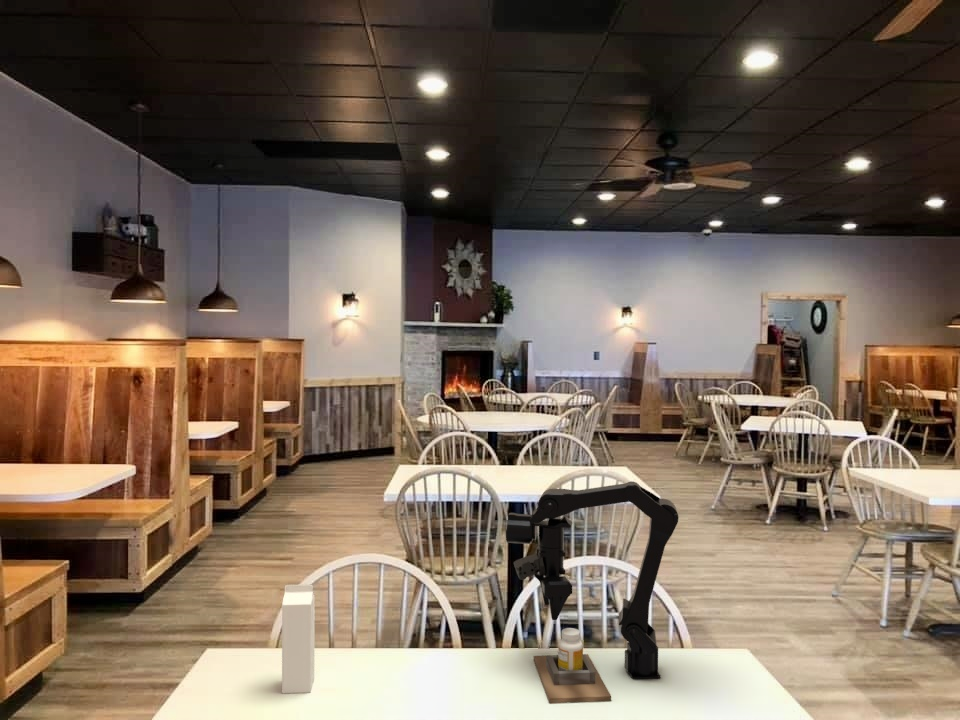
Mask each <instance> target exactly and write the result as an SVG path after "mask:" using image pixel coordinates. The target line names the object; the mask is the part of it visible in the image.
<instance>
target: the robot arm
mask: <svg viewBox="0 0 960 720" xmlns="http://www.w3.org/2000/svg"><path fill="white" fill-rule="evenodd" d="M622 503H631V504H632V505H634V507H636V508H637V509H639V510H640V511H641V512H642V513H643V514H645V516H647V517H648V518H649V527H648V529H649V530H648V538H647V543H646V546H645V550H644V553H643V557H642V561H641V564H640V568H639V571H638V575H637V579H636V582H635V585H634V590H633V594H632V595H631V597H630V599H629V600H628V599H626V598H622V608H621V610H620V611H619V613H618V625H619V626H620V633H621V636H622V638H624V640H625V641H627V643H626V649H625V650H624V668H625V670H626V672H627V673H628V674H629V676H630V677H631V679H633V680H641V679H643V680H644V679H646V680H648V679H660V678H661V677H662V676H661V674H660V672H659V646H658V645H657V644H658V643H657V638H656V637H657V636H656V630H655V629H654V628H653V627H652V625H651V624H650V623H649V611H650V602H651V598H652V596H653V595H652V594H653V590H654V588H655V584H656V580H657V577H658V573H659V570H660V566H661V562H662V558H663V556H664V555H663V554H664V552H665V547H666V545H667V543H668V542H669V540H670V539H671V537H672V536H673V533H674V531H675V529H676V527H677V525H678V523H679V513H678V510H677V507H676V506H675V504H674V502H673V501H671V500H669V499H666V498H660V497H659V496H657V495H656V494H654V493H652V492H651V491H649V490H647V489H646V488H644V487H643V486H641V485H640V484H639V483H637V482H636V481H628V482H625V483H620V484H612V485H605V486H598V487H593V488H592V487H591V488H584V489H567V488H549V489H546V490H545V491H544V492H542V495H540V498H539V500H538V502H537V507H536V509H534V510H533V511H532V513H531V514H525V513H524V514H523V513H516V512H509V513H508V515H507V522H506V523H507V524H506V529H505V541H506V543H507V544H508V543H509V544H510V543H511V544H526V545H531V544H532V542H533V540H534V541H536V540H537V535H538V546H537V547H536V548H535V553H534V554H530V555H527V556H523V557H522V558H519V559H516V560H515V561H513V565H514V566H513V567H514V568H515V572H516V575H517V576H518V579H519V580H520V581H523V580H526V579H527V578H529V577H531V576H534V578H535V579H537V580H538V582H539V586H540V590H541V594H542V598H543V604H544V606H549V609H550V610H549V611H550V612H549V613H550V618H551V621H557V620H558V618H559V616H560V614H561V611H562V609H564V607H565V606H564V605H565V603H566V602H567V600H568V598H569V597H570V596H571V595H573V584H572V582H571V580H570V579H568V577H566V576H562V575H566V569H565V568H564V557H566V550H565V549H564V543H565V541H564V540H565V537H564V535H565V534H564V533H565V531H564V529H571V527H572V526H573V522H572V521H571V520H570V519H569V518H568V516H567V514H571V513H572V512H575V511H577V510H581V509H587V508H594V507H602V506H609V505H614V504H622ZM559 517H561V518H559ZM546 519H548V520H546ZM560 575H561V576H560Z"/></svg>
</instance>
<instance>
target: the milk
mask: <svg viewBox="0 0 960 720" xmlns="http://www.w3.org/2000/svg"><path fill="white" fill-rule="evenodd" d="M315 597H316V595H315V593H314V586H313V584H286V585H284V595H283V600H282V603H281V604H282V605H281V694H305V693H306V694H307V693H312V689H313V685H314V682H315V636H316V635H315V627H316V626H315V622H316V621H315V619H316V618H315V616H316V614H315V609H316V606H315V602H316V601H315Z"/></svg>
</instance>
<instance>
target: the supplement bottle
mask: <svg viewBox="0 0 960 720" xmlns="http://www.w3.org/2000/svg"><path fill="white" fill-rule="evenodd" d="M580 638H581V632H580V630H579V629H578V628H573V627H566V628H563V629H562V630H561V638H560V639H559V641H558V644H557V645H558V647H557V649H558V651H557V652H558V654H557V655H558V671H573V670H583V654H584V645H583V642H582V640H581V639H580Z"/></svg>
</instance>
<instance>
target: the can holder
mask: <svg viewBox="0 0 960 720" xmlns="http://www.w3.org/2000/svg"><path fill="white" fill-rule="evenodd" d="M532 660H533V663H534V665H535V668H536V672H537V674H538V676H539V680H540V682H541V684H542V688H543V690H544V692H545V695H546V698H547V700H548V701H547V702H548V704H565V703H567V702H570V703H588V702H589V703H591V702H592V703H594V702H597V703H598V702H612V695H611V693H610V691H609V690H608V688H607V686H606V684H605V682H604V680H603V679H602V677H601V675H600V673H599V671H598V669H597V668H596V666H595V664H594V663H593V661H592V658H591V656H590V655H589V654H588V653H583V670H573V671H558V654H549V655H548V654H547V655H533V659H532ZM567 704H568V703H567Z"/></svg>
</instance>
